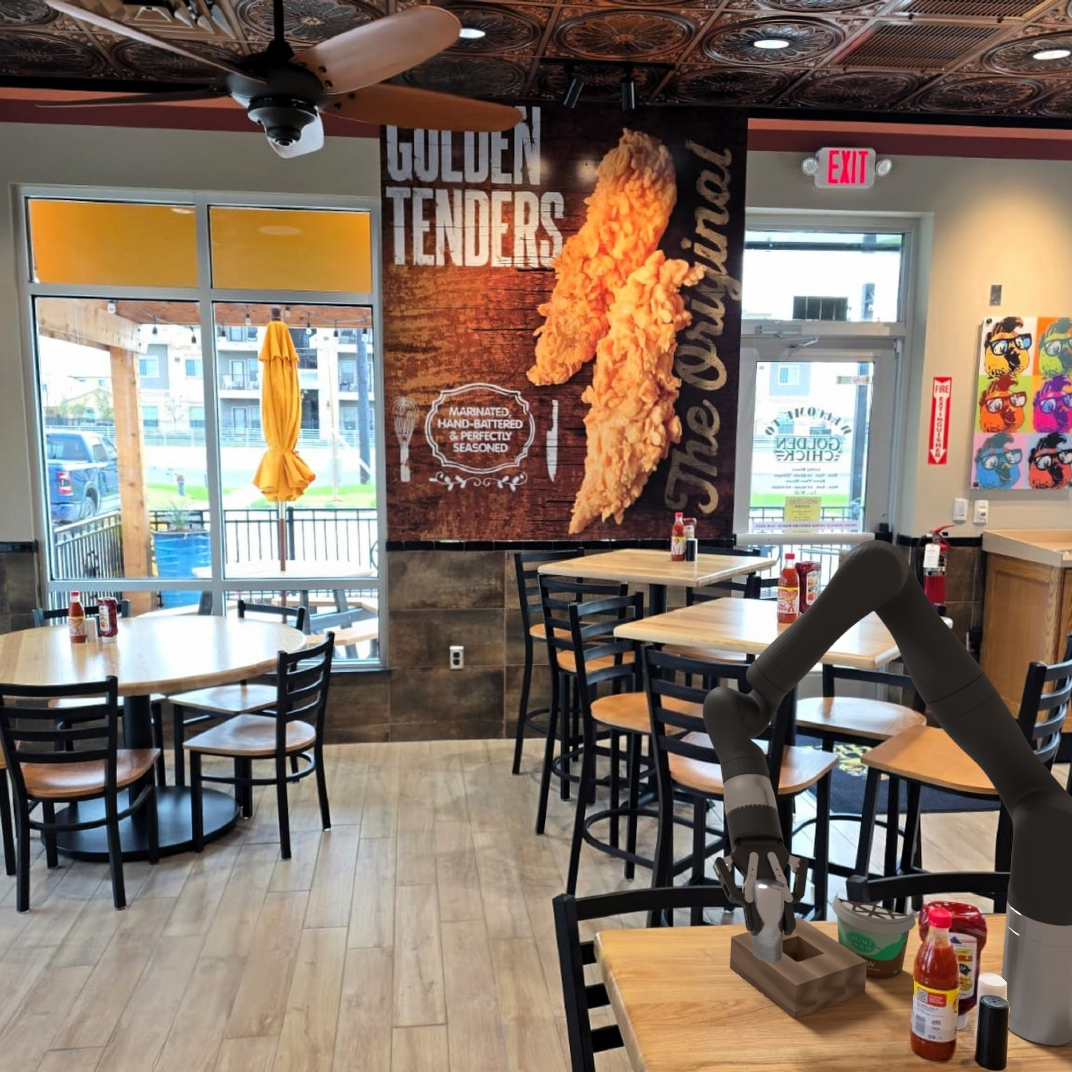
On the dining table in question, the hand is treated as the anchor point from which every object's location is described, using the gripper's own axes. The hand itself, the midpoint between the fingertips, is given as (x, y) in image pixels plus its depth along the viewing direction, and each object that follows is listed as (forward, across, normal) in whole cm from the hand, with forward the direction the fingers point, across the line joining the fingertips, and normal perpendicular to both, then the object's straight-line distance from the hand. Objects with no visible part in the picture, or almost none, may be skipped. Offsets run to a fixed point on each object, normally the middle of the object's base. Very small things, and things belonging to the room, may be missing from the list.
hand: (772, 933), depth 122 cm
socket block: (+1, +8, +19) cm, 21 cm away
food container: (0, +20, +21) cm, 29 cm away
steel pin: (+2, 0, +4) cm, 5 cm away
